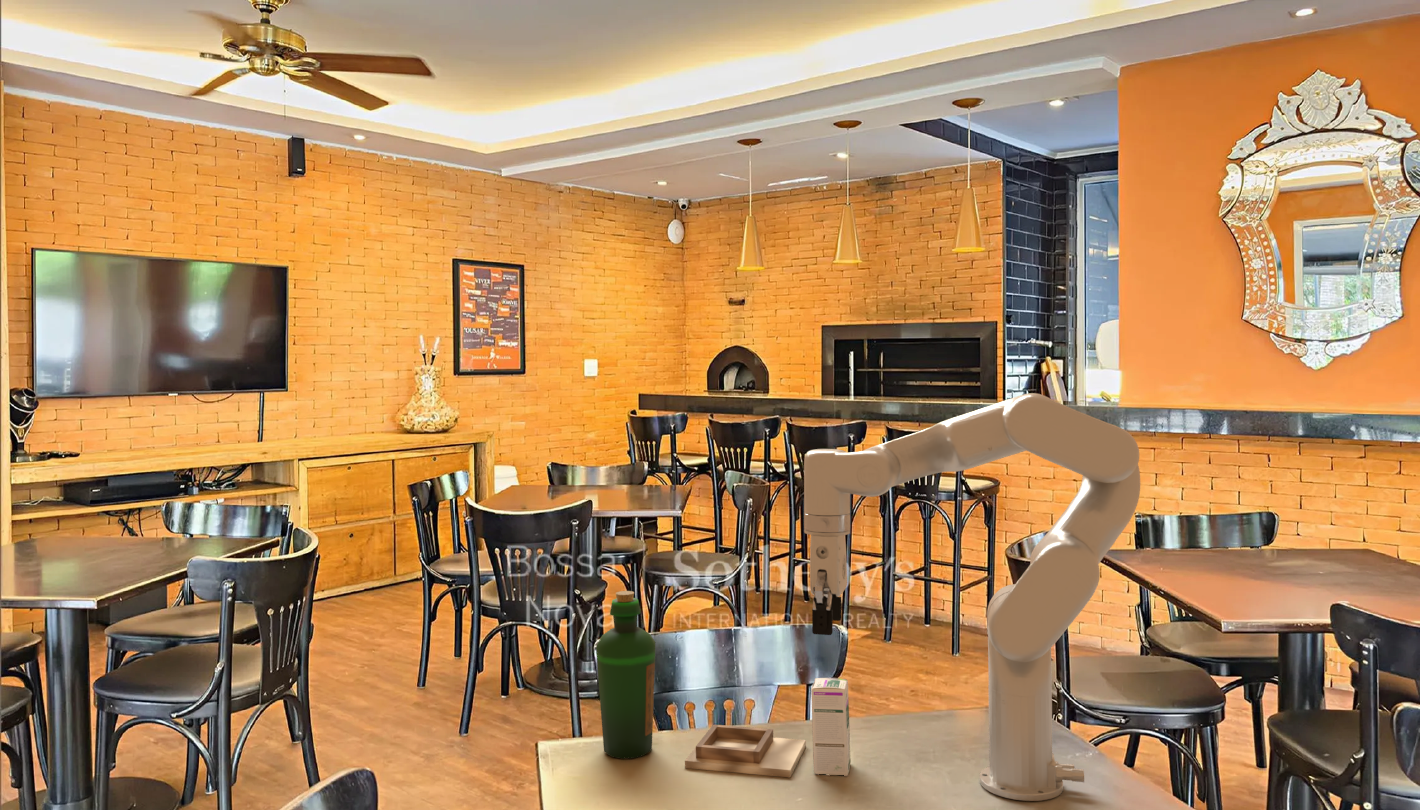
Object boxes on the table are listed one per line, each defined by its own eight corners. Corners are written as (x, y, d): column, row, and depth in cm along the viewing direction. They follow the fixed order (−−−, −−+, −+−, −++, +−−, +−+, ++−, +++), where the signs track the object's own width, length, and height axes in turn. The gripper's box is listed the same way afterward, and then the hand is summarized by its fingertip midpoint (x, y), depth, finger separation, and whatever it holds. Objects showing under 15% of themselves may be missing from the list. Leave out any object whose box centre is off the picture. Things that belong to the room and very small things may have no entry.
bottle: (671, 749, 175) (667, 591, 174) (626, 767, 167) (622, 602, 167) (630, 736, 182) (627, 584, 182) (585, 752, 174) (581, 594, 174)
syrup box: (848, 777, 162) (847, 688, 161) (812, 774, 163) (810, 686, 162) (850, 763, 167) (849, 678, 167) (815, 761, 168) (814, 676, 168)
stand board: (805, 746, 175) (805, 728, 175) (790, 777, 162) (790, 758, 162) (707, 738, 180) (707, 721, 180) (684, 767, 167) (684, 749, 167)
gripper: (842, 532, 155) (842, 641, 155) (856, 517, 171) (856, 616, 172) (794, 531, 157) (795, 638, 157) (813, 516, 173) (813, 613, 174)
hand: (827, 626), depth 165 cm, fingers open, 9 cm apart
